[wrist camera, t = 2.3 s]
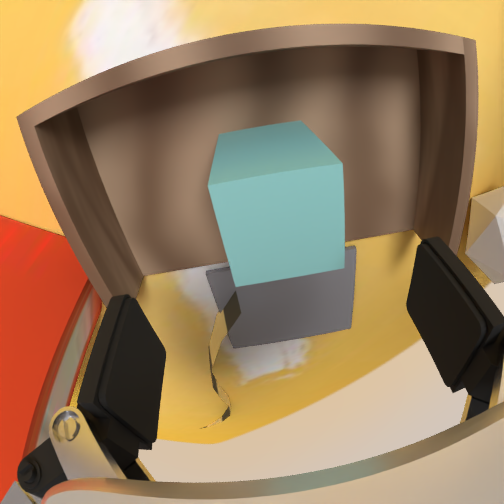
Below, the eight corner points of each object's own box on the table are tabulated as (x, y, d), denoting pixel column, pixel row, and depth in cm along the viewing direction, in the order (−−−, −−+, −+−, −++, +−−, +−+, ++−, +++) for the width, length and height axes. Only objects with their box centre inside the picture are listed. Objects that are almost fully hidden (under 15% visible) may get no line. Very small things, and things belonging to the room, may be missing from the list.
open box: (422, 37, 14) (475, 40, 9) (419, 223, 22) (453, 265, 18) (65, 97, 15) (16, 116, 11) (134, 272, 24) (116, 323, 19)
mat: (354, 245, 23) (356, 248, 23) (349, 325, 29) (350, 328, 29) (206, 271, 24) (206, 274, 24) (233, 345, 30) (233, 348, 30)
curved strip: (292, 289, 27) (301, 321, 24) (209, 435, 48) (209, 453, 45) (226, 278, 26) (227, 311, 22) (176, 432, 46) (175, 450, 43)
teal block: (300, 120, 17) (342, 163, 10) (309, 192, 20) (344, 268, 13) (218, 134, 17) (207, 185, 11) (235, 205, 20) (235, 286, 14)
